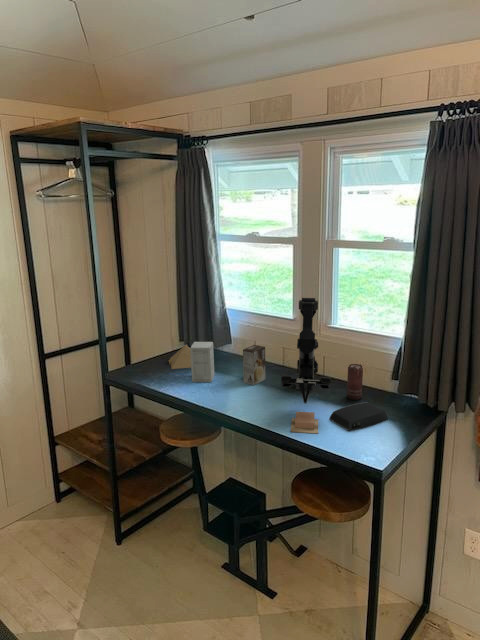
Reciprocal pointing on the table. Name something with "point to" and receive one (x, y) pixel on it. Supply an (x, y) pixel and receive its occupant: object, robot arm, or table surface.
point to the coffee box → (254, 364)
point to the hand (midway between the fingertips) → (305, 403)
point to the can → (354, 381)
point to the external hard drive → (358, 416)
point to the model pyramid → (181, 358)
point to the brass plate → (304, 430)
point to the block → (305, 420)
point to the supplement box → (202, 361)
